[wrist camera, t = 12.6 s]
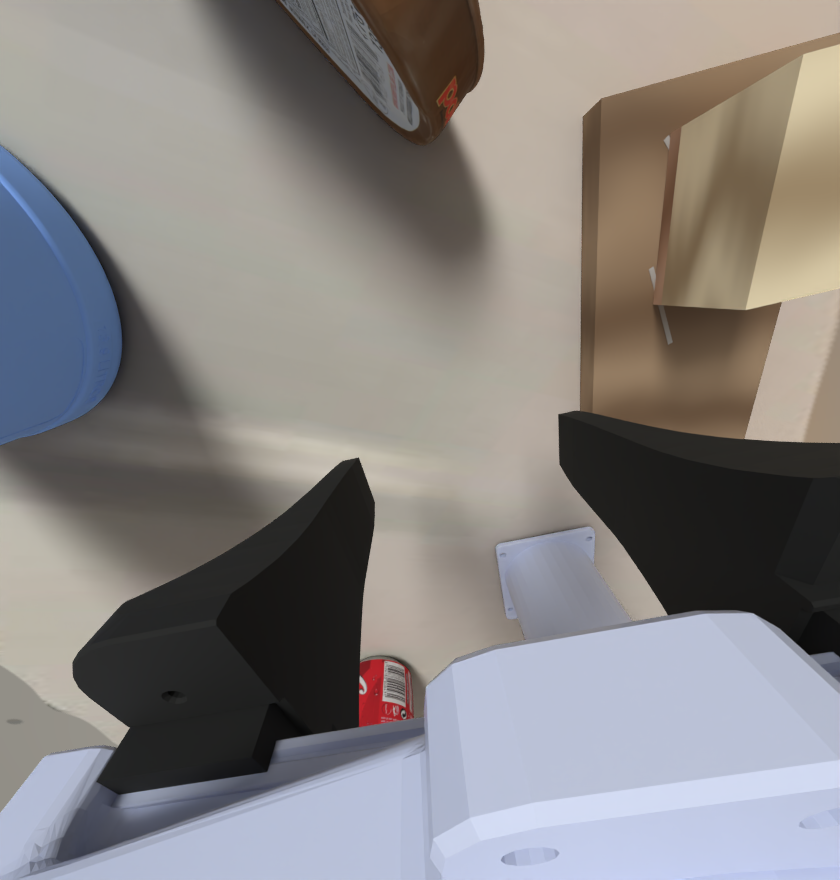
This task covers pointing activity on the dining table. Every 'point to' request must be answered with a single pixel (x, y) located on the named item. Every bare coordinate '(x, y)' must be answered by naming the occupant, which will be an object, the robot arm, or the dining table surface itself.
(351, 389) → the dining table surface
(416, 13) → the tin
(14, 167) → the water jug
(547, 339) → the dining table surface
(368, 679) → the soda can
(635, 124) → the board
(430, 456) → the dining table surface
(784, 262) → the block
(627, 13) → the dining table surface
